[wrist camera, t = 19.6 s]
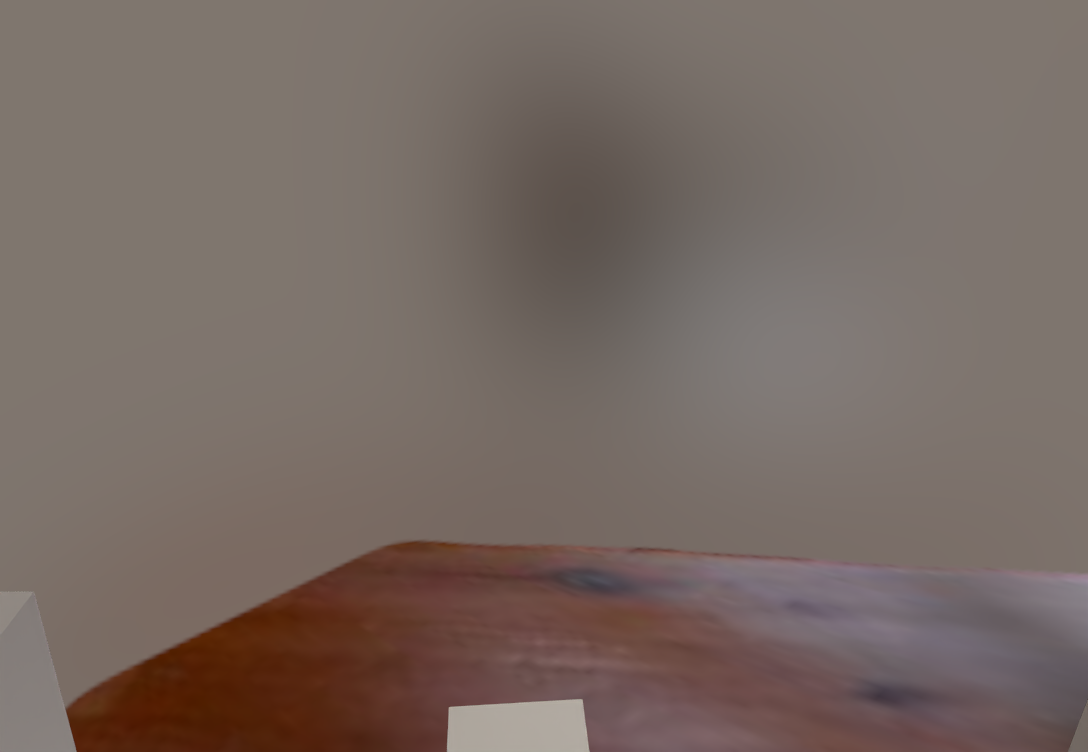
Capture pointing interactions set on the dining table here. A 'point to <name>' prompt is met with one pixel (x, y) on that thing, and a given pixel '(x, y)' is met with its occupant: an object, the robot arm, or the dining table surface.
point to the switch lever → (518, 727)
